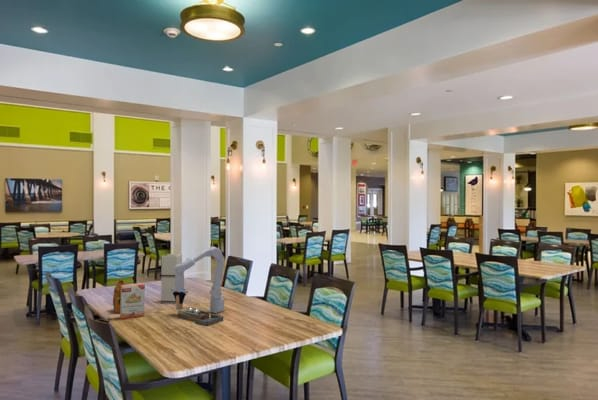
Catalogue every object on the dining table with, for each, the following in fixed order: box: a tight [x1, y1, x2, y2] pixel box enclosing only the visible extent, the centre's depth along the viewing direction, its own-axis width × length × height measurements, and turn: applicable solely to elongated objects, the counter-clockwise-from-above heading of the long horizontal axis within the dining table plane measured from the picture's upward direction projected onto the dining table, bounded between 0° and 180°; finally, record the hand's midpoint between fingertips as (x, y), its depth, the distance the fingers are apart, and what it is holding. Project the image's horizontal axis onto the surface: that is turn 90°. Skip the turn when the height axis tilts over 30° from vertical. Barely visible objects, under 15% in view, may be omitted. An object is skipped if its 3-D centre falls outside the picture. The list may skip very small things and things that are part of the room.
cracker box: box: [119, 283, 146, 320], centre depth 266 cm, size 14×6×21 cm, turn 121°
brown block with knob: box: [175, 295, 184, 311], centre depth 271 cm, size 5×3×9 cm, turn 147°
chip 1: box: [186, 306, 196, 313], centre depth 265 cm, size 4×3×3 cm
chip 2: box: [193, 308, 202, 314], centre depth 262 cm, size 4×3×3 cm
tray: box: [194, 313, 224, 327], centre depth 256 cm, size 14×10×2 cm
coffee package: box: [112, 277, 126, 314], centre depth 279 cm, size 10×12×22 cm
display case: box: [160, 253, 183, 305], centre depth 306 cm, size 11×11×35 cm
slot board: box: [177, 307, 210, 323], centre depth 263 cm, size 10×18×4 cm, turn 57°
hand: (179, 303), depth 271 cm, fingers closed on brown block with knob, 3 cm apart
